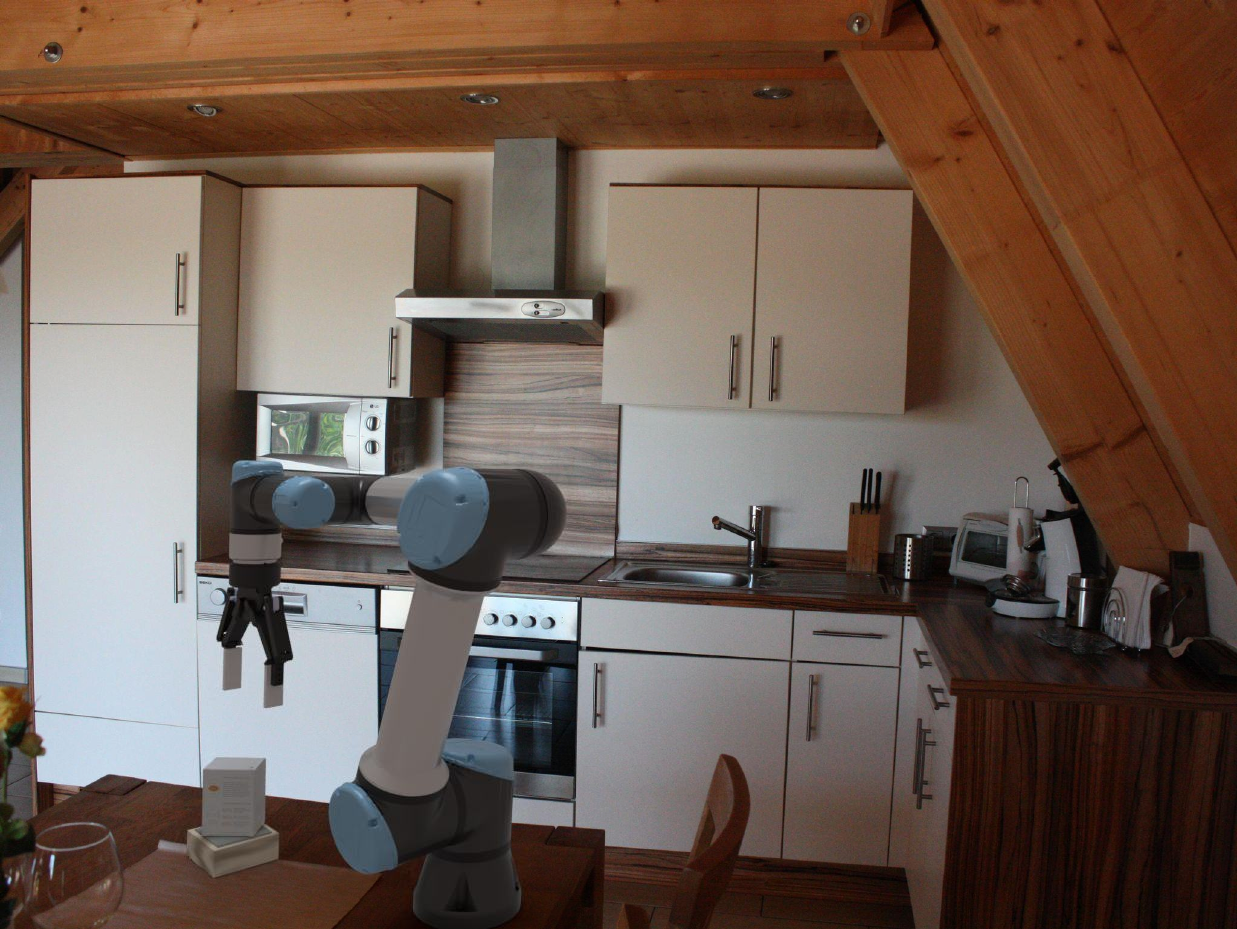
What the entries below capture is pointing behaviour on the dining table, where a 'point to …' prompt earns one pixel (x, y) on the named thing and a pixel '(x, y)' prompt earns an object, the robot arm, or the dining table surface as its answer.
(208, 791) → the small box
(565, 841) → the dining table surface
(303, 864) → the dining table surface
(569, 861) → the dining table surface
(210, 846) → the birch stand
